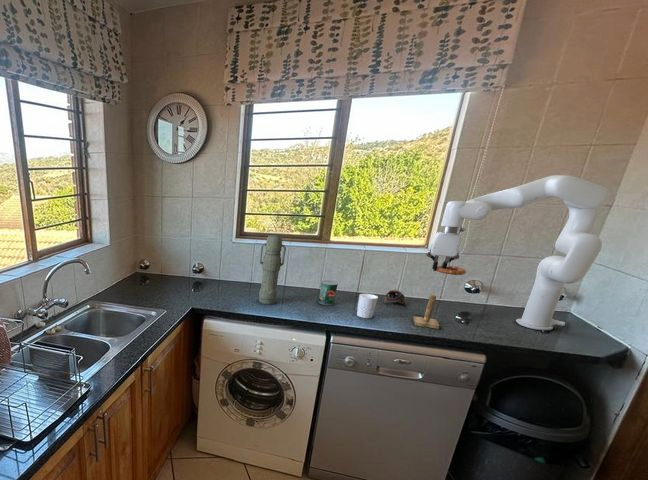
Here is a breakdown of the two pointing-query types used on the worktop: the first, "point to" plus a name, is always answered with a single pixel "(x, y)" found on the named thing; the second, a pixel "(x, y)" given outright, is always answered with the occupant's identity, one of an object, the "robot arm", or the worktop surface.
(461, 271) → the ring
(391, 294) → the brown domed piece
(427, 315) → the stand
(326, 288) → the canned tomato
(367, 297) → the white cup
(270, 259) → the grey stone vase
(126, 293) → the worktop surface
